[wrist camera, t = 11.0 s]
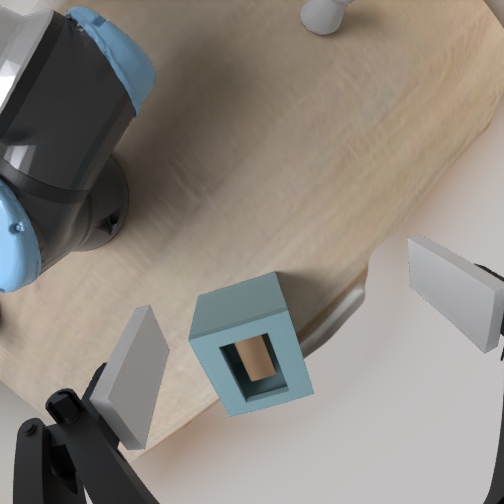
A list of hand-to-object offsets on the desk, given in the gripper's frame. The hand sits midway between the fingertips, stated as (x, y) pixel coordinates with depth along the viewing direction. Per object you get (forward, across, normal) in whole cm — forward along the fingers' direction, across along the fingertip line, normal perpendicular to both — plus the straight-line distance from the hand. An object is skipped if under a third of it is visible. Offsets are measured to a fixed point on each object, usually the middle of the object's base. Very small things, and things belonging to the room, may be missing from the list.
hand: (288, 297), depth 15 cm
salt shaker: (+30, +16, +24) cm, 41 cm away
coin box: (+29, -5, -18) cm, 35 cm away
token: (+29, -4, -18) cm, 34 cm away
